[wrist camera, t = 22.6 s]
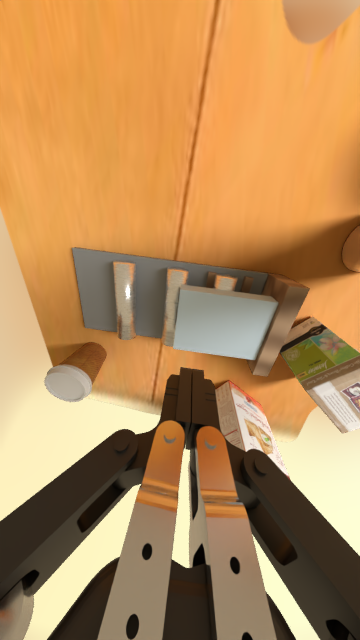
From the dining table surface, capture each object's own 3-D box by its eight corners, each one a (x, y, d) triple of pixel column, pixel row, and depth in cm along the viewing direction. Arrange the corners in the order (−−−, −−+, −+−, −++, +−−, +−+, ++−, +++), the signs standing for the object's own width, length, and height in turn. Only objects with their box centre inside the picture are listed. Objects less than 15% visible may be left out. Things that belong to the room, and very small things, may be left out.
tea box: (269, 340, 41) (305, 392, 28) (312, 314, 37) (376, 360, 24) (300, 376, 45) (343, 436, 32) (341, 357, 41) (409, 416, 28)
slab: (181, 284, 31) (180, 289, 28) (271, 296, 31) (278, 302, 28) (174, 340, 36) (173, 348, 34) (250, 350, 36) (255, 360, 33)
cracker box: (262, 403, 51) (301, 503, 32) (245, 412, 53) (273, 510, 34) (229, 378, 47) (252, 474, 29) (213, 389, 49) (224, 484, 31)
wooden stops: (209, 265, 34) (213, 275, 26) (282, 275, 34) (309, 288, 26) (194, 340, 42) (194, 366, 34) (253, 349, 42) (267, 376, 34)
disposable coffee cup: (92, 369, 49) (64, 407, 39) (69, 343, 46) (32, 378, 35) (119, 359, 47) (97, 397, 36) (98, 332, 43) (66, 365, 33)
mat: (75, 247, 34) (72, 247, 33) (266, 272, 34) (268, 274, 33) (87, 325, 43) (85, 327, 42) (240, 347, 42) (241, 349, 41)
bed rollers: (118, 259, 34) (109, 262, 30) (189, 268, 34) (188, 273, 30) (121, 329, 41) (114, 338, 38) (179, 337, 41) (178, 347, 37)
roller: (222, 348, 39) (211, 354, 37) (208, 339, 42) (197, 345, 39) (241, 278, 32) (230, 280, 29) (223, 273, 34) (211, 274, 32)
